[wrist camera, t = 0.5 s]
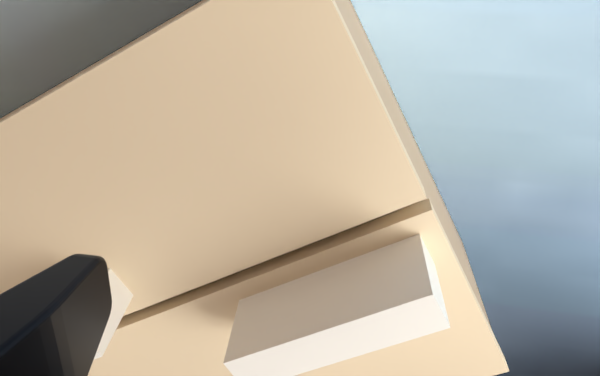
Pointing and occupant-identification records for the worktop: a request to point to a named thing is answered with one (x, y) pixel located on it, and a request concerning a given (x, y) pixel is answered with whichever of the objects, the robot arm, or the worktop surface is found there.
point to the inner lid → (323, 313)
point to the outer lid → (201, 153)
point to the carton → (396, 117)
